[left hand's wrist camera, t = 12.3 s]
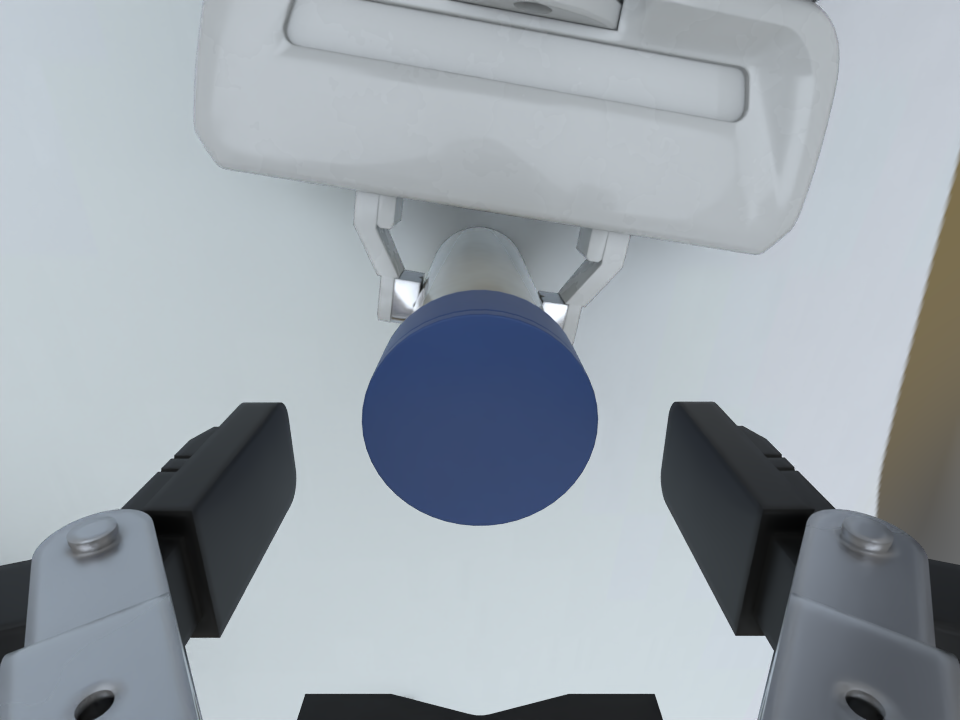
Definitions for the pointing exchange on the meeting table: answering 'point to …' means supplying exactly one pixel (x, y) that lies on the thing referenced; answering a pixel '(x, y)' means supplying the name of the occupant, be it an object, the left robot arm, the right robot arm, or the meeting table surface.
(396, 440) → the lid
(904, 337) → the meeting table surface
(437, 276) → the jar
